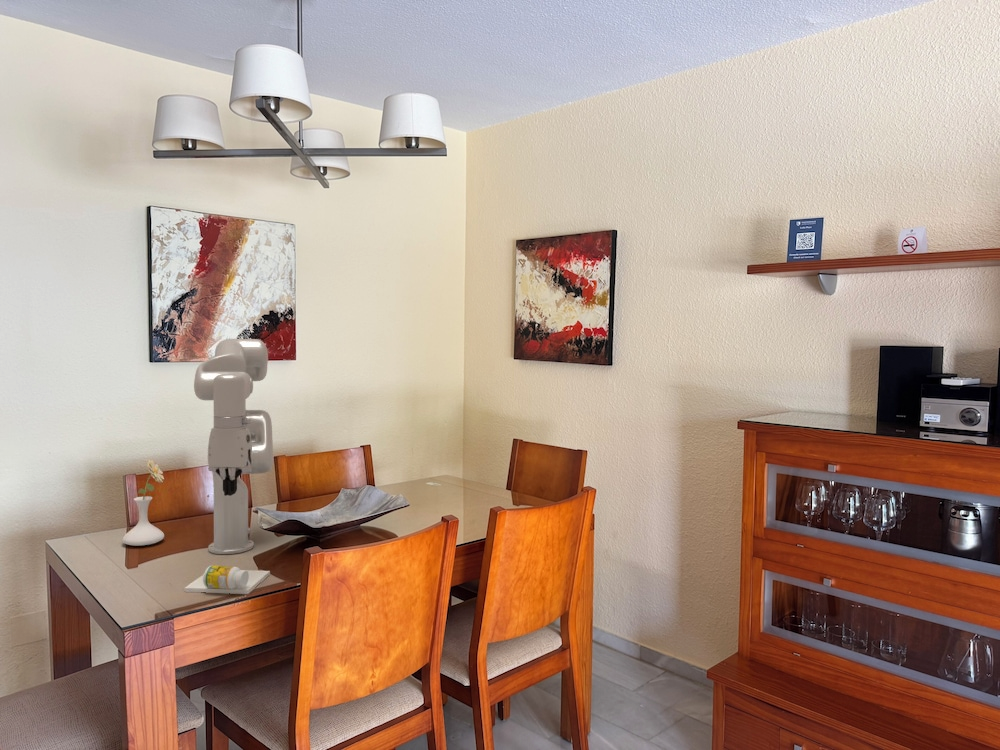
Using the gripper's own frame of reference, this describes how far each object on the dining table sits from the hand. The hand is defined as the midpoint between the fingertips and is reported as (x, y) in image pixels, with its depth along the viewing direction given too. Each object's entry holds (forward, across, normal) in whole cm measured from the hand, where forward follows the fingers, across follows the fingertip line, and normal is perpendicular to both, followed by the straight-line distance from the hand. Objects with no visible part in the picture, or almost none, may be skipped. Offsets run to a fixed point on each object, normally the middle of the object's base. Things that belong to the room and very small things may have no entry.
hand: (230, 494), depth 175 cm
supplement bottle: (+19, +3, +6) cm, 20 cm away
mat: (+23, 0, 0) cm, 23 cm away
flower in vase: (+23, +40, -31) cm, 56 cm away
